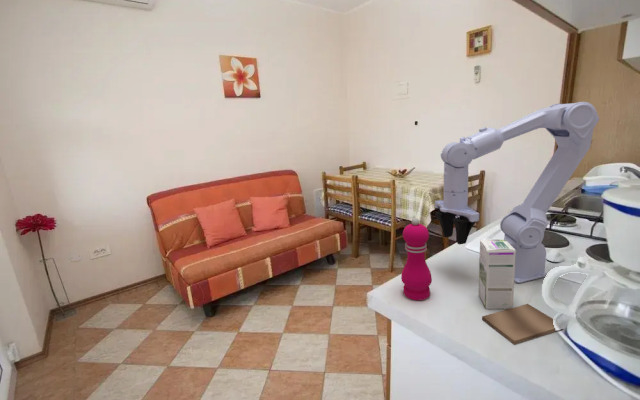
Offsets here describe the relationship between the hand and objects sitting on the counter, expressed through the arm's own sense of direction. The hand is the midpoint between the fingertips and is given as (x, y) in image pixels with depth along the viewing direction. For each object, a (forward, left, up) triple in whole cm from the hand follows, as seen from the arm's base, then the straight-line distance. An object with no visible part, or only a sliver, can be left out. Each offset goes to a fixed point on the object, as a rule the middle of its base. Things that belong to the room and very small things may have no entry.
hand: (454, 239), depth 81 cm
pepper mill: (+14, +4, -11) cm, 18 cm away
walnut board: (+1, +22, -10) cm, 24 cm away
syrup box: (0, +14, -11) cm, 18 cm away
